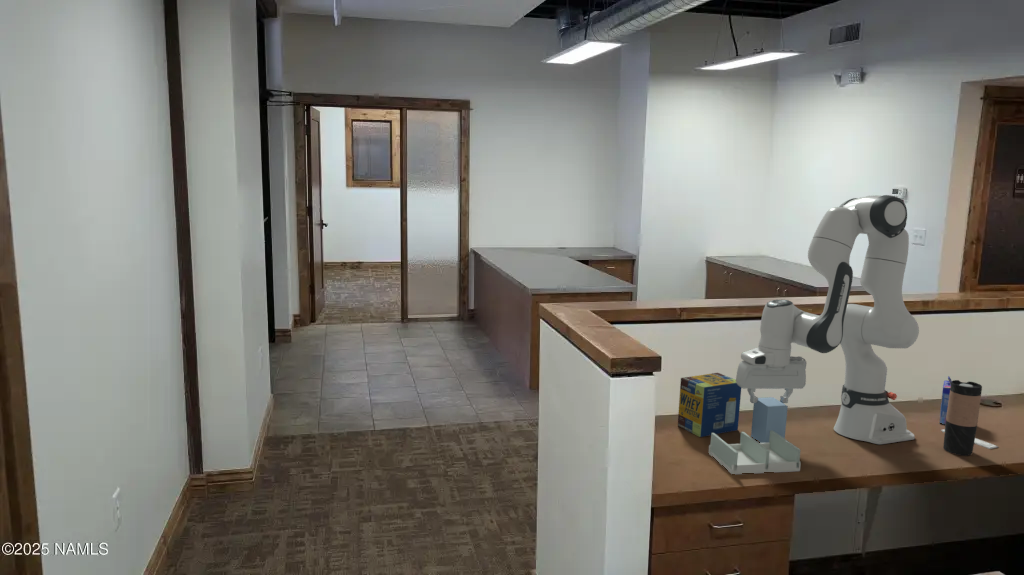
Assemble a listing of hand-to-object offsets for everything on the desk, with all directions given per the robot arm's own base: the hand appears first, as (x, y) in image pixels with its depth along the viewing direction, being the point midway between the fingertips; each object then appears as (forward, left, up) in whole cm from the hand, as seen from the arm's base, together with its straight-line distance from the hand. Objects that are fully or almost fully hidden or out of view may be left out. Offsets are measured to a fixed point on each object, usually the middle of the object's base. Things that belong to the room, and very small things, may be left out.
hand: (768, 402), depth 208 cm
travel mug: (-53, +13, -12) cm, 55 cm away
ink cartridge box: (-70, -10, -12) cm, 71 cm away
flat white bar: (-64, +5, -12) cm, 65 cm away
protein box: (+12, -12, -12) cm, 21 cm away
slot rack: (+11, +14, -12) cm, 21 cm away
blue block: (-1, 0, -12) cm, 12 cm away
